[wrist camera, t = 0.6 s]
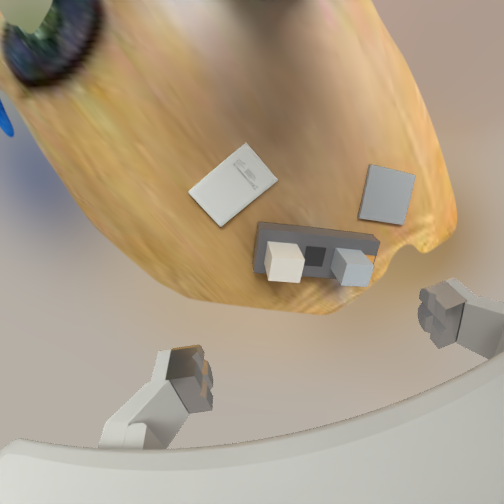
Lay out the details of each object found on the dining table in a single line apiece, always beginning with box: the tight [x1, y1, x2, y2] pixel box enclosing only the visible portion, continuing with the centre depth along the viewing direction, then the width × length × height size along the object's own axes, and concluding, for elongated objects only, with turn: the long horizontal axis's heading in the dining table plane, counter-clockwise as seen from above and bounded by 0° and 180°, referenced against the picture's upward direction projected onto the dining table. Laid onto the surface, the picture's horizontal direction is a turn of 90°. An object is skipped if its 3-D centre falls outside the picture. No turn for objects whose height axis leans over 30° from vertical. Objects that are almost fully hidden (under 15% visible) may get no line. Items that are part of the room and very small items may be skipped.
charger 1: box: [264, 241, 305, 283], centre depth 50 cm, size 4×5×8 cm
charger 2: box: [331, 248, 374, 287], centre depth 51 cm, size 4×5×6 cm
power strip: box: [252, 222, 380, 279], centre depth 54 cm, size 8×22×4 cm, turn 83°
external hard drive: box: [188, 142, 278, 227], centre depth 50 cm, size 2×8×12 cm
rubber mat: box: [358, 164, 416, 225], centre depth 52 cm, size 10×10×1 cm
